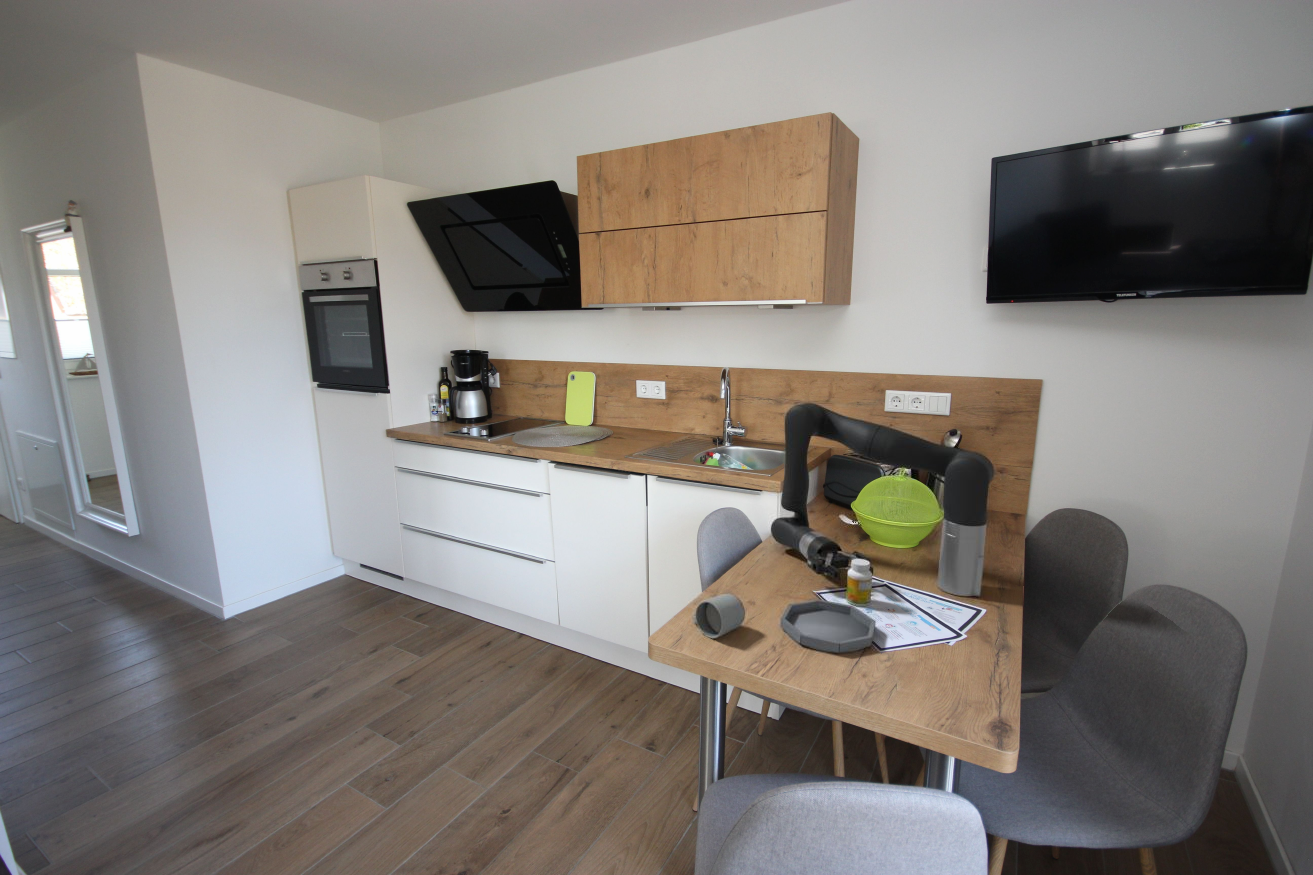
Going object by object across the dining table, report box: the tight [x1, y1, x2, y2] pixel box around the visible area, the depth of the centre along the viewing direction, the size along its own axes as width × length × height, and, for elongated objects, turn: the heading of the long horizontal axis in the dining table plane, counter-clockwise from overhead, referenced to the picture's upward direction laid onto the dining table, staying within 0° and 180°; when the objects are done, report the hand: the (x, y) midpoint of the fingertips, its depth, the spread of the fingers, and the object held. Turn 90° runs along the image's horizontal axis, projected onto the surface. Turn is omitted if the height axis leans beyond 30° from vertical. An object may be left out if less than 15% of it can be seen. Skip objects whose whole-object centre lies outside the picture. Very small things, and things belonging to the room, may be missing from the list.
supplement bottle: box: [845, 559, 873, 607], centre depth 138 cm, size 5×5×10 cm
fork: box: [839, 514, 859, 525], centre depth 193 cm, size 3×20×2 cm, turn 43°
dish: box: [780, 598, 877, 654], centre depth 125 cm, size 18×18×2 cm
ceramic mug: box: [692, 593, 746, 639], centre depth 126 cm, size 11×8×8 cm
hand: (855, 574), depth 140 cm, fingers open, 8 cm apart
